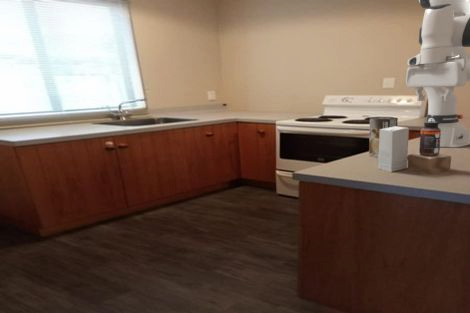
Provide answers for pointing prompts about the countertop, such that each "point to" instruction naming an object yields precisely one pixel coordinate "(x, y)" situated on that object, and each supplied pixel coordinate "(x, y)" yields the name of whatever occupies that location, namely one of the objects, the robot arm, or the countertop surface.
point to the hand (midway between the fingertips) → (432, 101)
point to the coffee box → (378, 132)
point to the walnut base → (429, 163)
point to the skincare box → (393, 148)
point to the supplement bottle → (430, 139)
